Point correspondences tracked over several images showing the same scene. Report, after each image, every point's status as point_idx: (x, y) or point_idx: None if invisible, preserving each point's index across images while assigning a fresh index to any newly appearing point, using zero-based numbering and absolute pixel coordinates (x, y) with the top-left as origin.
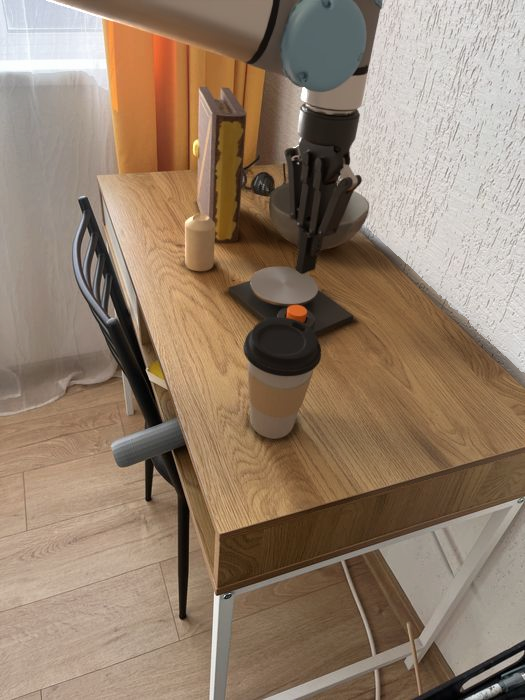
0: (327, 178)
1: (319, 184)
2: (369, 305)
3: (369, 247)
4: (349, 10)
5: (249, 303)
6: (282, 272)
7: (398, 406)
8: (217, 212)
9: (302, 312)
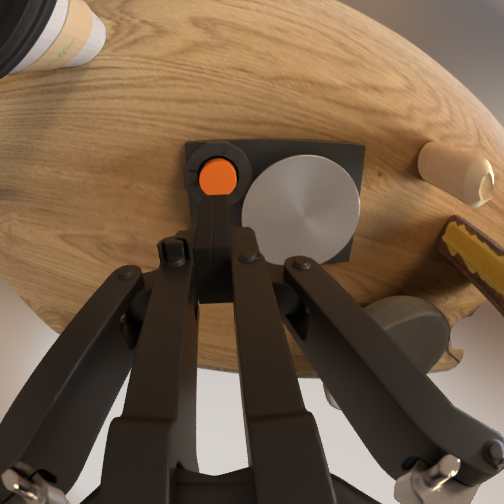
0: (89, 500)
1: (107, 456)
2: (215, 305)
3: (314, 370)
4: None
5: (311, 144)
6: (332, 236)
7: (42, 203)
8: (478, 240)
9: (207, 184)
